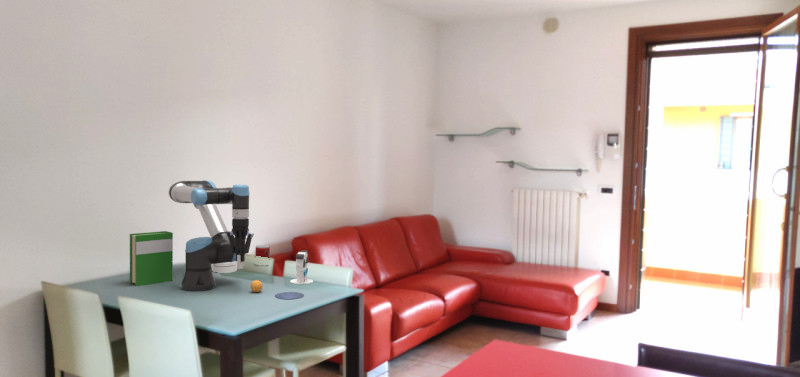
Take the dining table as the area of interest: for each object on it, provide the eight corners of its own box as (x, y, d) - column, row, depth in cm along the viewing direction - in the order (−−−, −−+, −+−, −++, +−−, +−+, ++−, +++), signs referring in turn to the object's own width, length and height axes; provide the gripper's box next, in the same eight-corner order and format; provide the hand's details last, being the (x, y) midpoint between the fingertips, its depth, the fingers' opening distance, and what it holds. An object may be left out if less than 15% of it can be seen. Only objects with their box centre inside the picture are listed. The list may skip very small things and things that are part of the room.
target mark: (269, 297, 258) (269, 297, 258) (283, 291, 270) (283, 290, 270) (295, 300, 254) (295, 300, 254) (308, 294, 266) (308, 293, 266)
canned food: (266, 266, 327) (266, 247, 326) (252, 265, 328) (253, 246, 328) (271, 264, 334) (272, 245, 334) (258, 263, 336) (259, 244, 335)
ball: (248, 292, 266) (248, 281, 265) (254, 290, 271) (254, 278, 271) (258, 294, 264) (258, 282, 264) (264, 291, 269) (265, 279, 269)
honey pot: (241, 271, 314) (241, 238, 313) (219, 274, 304) (220, 240, 303) (229, 267, 322) (229, 235, 321) (207, 270, 313) (207, 237, 312)
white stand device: (310, 284, 285) (310, 254, 284) (287, 284, 286) (288, 253, 285) (314, 279, 297) (315, 250, 296) (292, 278, 298) (293, 249, 297)
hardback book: (136, 286, 273) (136, 235, 271) (129, 283, 278) (129, 233, 276) (172, 280, 286) (172, 232, 284) (165, 278, 291) (165, 231, 289)
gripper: (223, 218, 267) (223, 268, 268) (248, 219, 263) (247, 271, 264) (233, 216, 274) (232, 266, 275) (257, 218, 270) (256, 268, 271)
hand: (240, 268), depth 269 cm, fingers closed
